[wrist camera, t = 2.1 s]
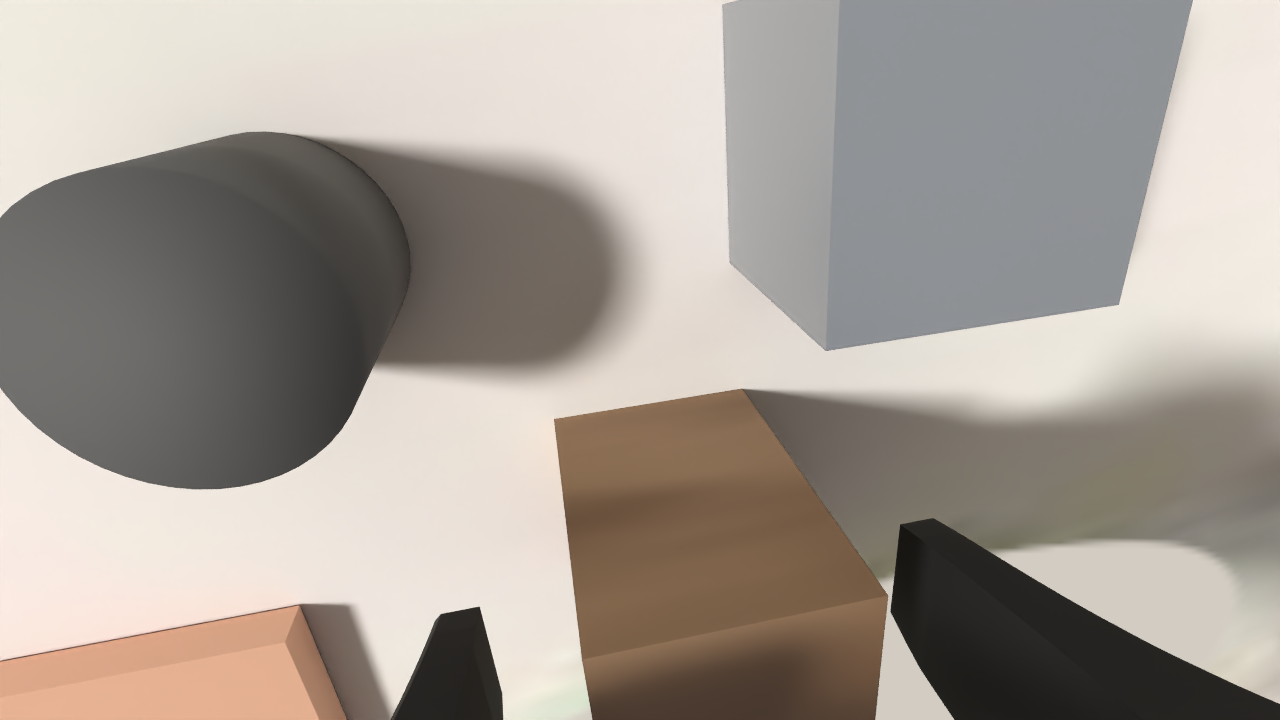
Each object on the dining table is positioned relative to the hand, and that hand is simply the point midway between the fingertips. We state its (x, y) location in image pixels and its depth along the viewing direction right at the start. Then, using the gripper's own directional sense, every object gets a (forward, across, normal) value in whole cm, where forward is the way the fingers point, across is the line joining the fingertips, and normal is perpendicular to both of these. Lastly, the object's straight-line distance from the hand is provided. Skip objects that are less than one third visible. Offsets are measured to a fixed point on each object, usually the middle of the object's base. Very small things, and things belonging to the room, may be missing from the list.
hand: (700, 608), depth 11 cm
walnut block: (+4, 0, 0) cm, 4 cm away
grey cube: (+4, -4, -7) cm, 9 cm away
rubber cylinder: (+4, +6, -6) cm, 9 cm away
